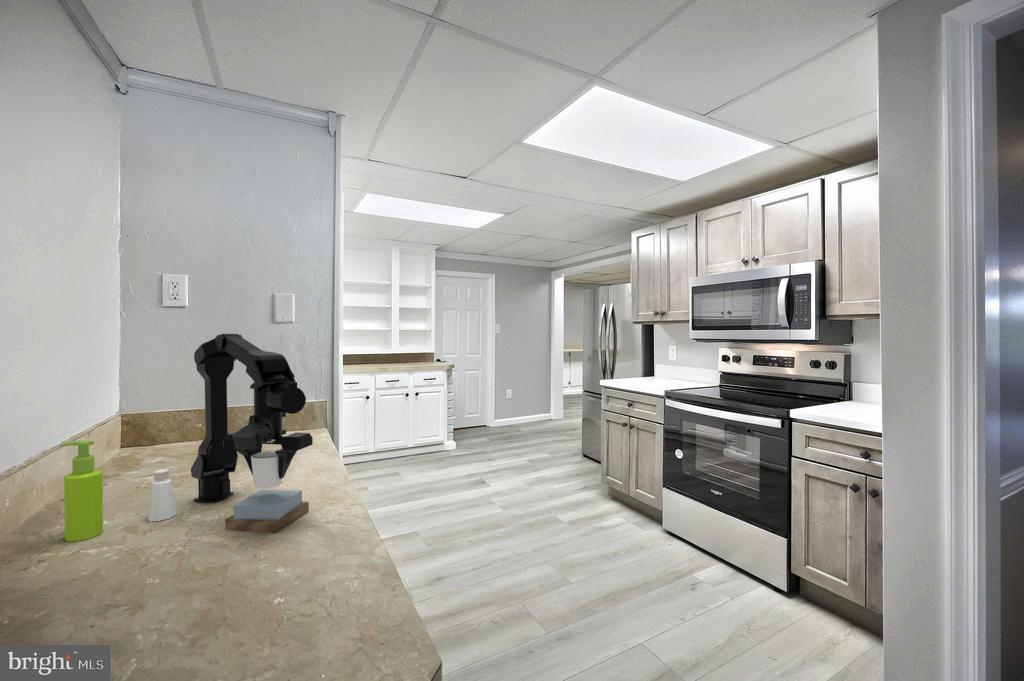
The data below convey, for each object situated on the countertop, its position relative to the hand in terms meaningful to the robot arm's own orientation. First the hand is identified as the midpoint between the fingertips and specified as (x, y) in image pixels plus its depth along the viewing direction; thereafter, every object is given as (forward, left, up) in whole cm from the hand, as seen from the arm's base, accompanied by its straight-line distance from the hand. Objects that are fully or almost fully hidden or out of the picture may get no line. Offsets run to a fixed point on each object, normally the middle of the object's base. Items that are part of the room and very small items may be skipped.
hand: (268, 477), depth 104 cm
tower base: (0, 0, -11) cm, 11 cm away
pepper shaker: (-26, -2, -10) cm, 28 cm away
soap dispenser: (-34, -13, -10) cm, 38 cm away
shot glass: (0, 0, -2) cm, 2 cm away
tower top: (0, 0, -8) cm, 7 cm away
